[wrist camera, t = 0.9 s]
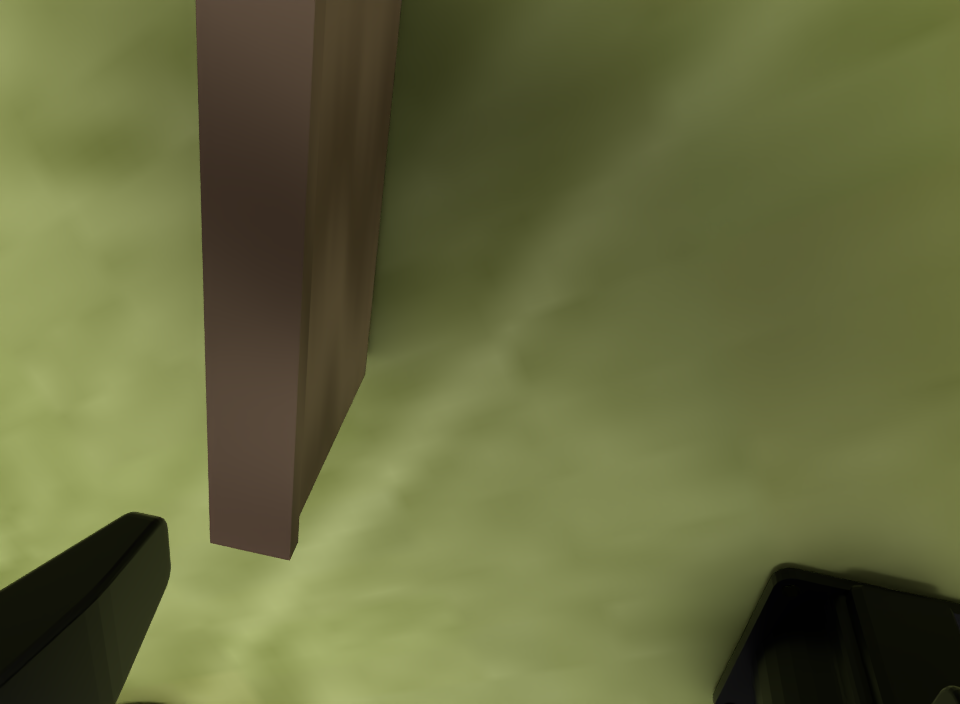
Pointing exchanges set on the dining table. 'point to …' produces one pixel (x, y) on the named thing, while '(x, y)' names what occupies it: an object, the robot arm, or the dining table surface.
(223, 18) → the brown wooden plank
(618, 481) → the dining table surface
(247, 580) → the dining table surface
